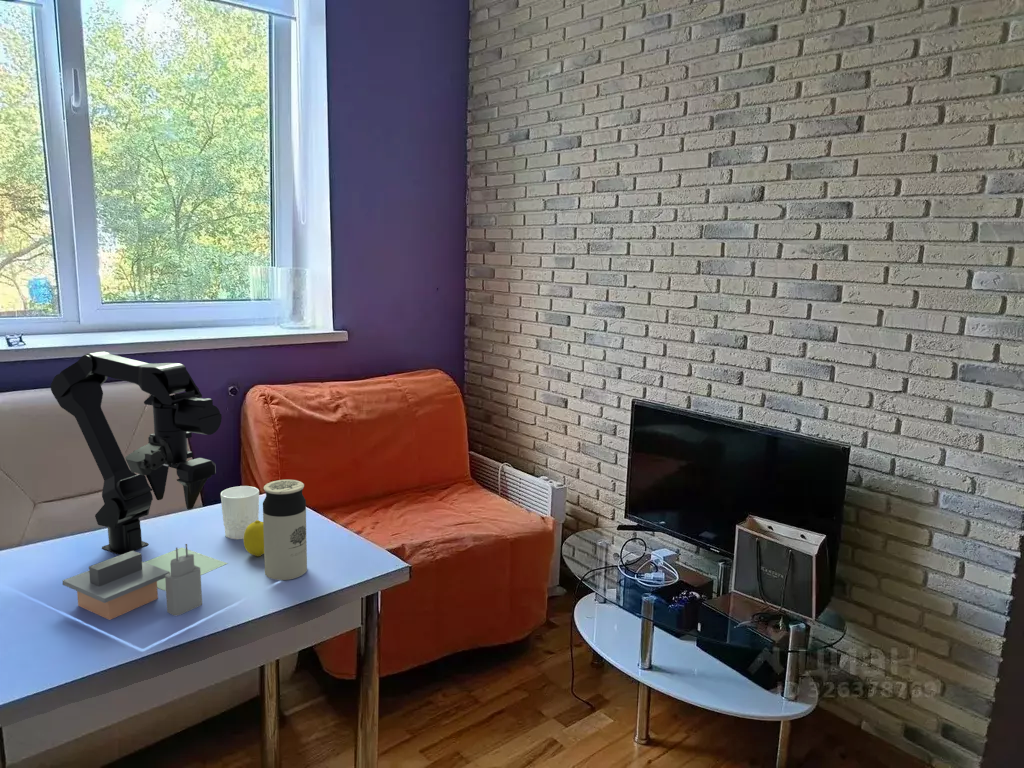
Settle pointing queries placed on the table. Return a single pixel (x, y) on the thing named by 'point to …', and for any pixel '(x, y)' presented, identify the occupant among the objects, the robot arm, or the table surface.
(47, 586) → the table surface
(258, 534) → the lemon
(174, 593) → the power adapter
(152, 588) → the dish
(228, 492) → the white cup
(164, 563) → the mat
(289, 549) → the travel mug
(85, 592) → the lid
